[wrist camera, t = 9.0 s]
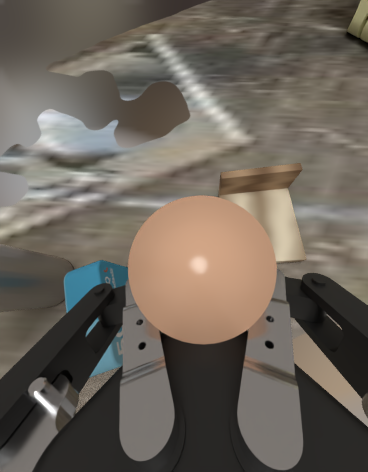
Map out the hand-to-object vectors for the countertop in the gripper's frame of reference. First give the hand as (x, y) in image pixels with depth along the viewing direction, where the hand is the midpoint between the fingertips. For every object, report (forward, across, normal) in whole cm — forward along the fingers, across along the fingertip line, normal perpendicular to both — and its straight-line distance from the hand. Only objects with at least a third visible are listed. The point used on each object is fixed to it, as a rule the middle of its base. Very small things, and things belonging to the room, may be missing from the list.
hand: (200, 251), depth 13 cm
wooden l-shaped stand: (+19, -10, +7) cm, 22 cm away
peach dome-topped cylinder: (+2, 0, +5) cm, 6 cm away
